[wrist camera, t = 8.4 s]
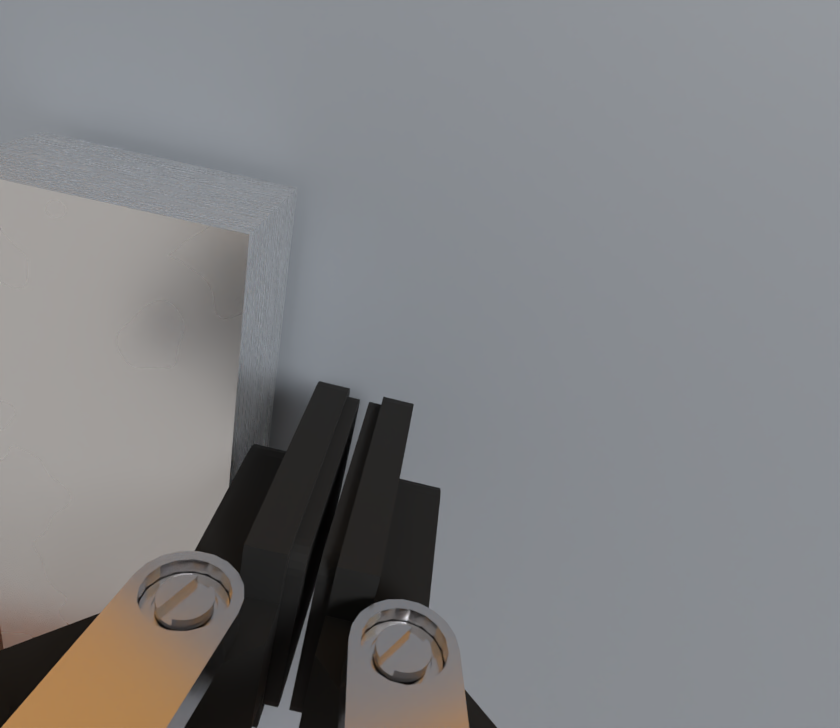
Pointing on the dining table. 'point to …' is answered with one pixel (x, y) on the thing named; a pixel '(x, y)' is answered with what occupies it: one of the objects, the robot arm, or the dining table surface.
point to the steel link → (125, 362)
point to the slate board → (540, 307)
